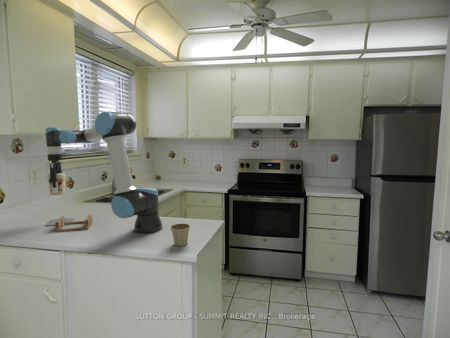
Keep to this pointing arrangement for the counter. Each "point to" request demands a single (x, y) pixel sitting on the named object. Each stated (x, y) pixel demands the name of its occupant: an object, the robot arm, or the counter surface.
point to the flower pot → (180, 234)
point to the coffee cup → (58, 183)
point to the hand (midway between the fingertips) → (57, 191)
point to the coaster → (52, 221)
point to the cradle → (61, 223)
